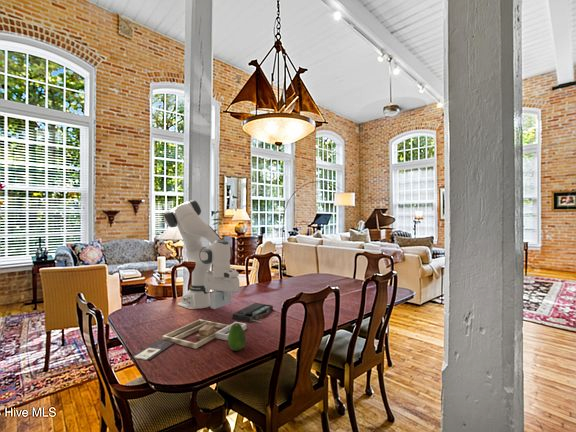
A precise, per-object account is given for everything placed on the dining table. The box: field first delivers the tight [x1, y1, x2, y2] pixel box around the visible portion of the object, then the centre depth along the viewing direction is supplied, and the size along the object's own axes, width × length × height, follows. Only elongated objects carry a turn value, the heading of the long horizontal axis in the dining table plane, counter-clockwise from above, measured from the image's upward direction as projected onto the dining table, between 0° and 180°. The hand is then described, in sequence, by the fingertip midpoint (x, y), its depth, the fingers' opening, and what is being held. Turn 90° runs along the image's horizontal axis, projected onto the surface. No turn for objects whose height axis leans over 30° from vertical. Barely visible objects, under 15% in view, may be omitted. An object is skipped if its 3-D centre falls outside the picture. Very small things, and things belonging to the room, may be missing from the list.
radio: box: [231, 302, 274, 323], centre depth 185 cm, size 25×4×20 cm
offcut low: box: [195, 329, 218, 341], centre depth 152 cm, size 5×10×2 cm, turn 156°
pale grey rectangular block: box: [210, 291, 232, 310], centre depth 156 cm, size 3×12×7 cm, turn 152°
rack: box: [161, 318, 230, 350], centre depth 155 cm, size 21×26×2 cm
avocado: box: [227, 323, 247, 352], centre depth 137 cm, size 8×8×12 cm
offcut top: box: [198, 325, 215, 336], centre depth 152 cm, size 5×7×2 cm, turn 168°
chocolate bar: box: [131, 339, 175, 361], centre depth 137 cm, size 9×1×18 cm
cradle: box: [214, 321, 248, 341], centre depth 157 cm, size 7×17×2 cm, turn 154°
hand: (221, 299), depth 156 cm, fingers closed on pale grey rectangular block, 3 cm apart
